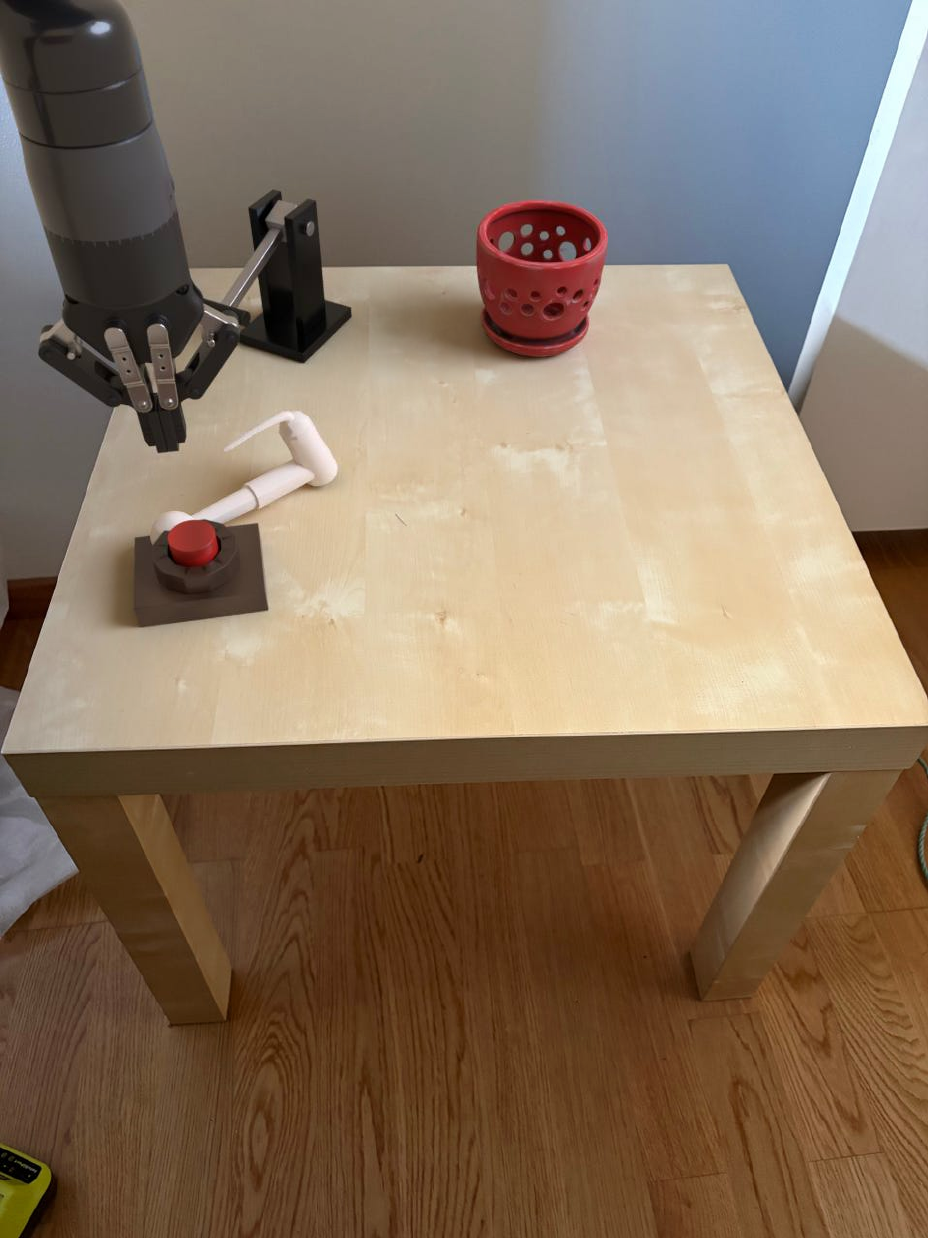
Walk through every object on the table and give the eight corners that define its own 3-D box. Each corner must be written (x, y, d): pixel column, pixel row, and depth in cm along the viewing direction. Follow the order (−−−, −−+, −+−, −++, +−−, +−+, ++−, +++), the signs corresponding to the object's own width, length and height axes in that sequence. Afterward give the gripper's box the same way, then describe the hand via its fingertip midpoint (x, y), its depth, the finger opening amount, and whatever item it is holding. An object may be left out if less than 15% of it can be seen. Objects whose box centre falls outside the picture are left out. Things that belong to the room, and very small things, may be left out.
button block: (139, 627, 75) (127, 592, 72) (140, 556, 80) (129, 520, 77) (268, 610, 77) (262, 575, 74) (261, 541, 82) (255, 506, 79)
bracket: (304, 363, 99) (290, 235, 89) (238, 343, 101) (217, 215, 91) (352, 316, 105) (344, 191, 95) (289, 298, 108) (275, 174, 97)
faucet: (175, 580, 85) (116, 518, 76) (320, 448, 88) (280, 376, 80) (200, 605, 83) (144, 545, 74) (347, 470, 86) (310, 398, 78)
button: (172, 570, 75) (167, 554, 73) (171, 538, 77) (167, 522, 76) (219, 564, 75) (215, 548, 74) (217, 532, 77) (213, 516, 76)
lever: (246, 333, 91) (238, 315, 88) (202, 319, 92) (193, 302, 90) (316, 226, 95) (310, 207, 93) (273, 215, 97) (266, 196, 94)
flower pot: (460, 308, 107) (463, 202, 98) (572, 297, 110) (585, 193, 101) (489, 376, 99) (495, 267, 90) (610, 362, 101) (628, 254, 92)
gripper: (-23, 245, 51) (68, 490, 65) (228, 227, 54) (267, 468, 67) (-8, 181, 56) (74, 422, 69) (222, 167, 58) (260, 403, 71)
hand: (169, 444), depth 68 cm, fingers closed
